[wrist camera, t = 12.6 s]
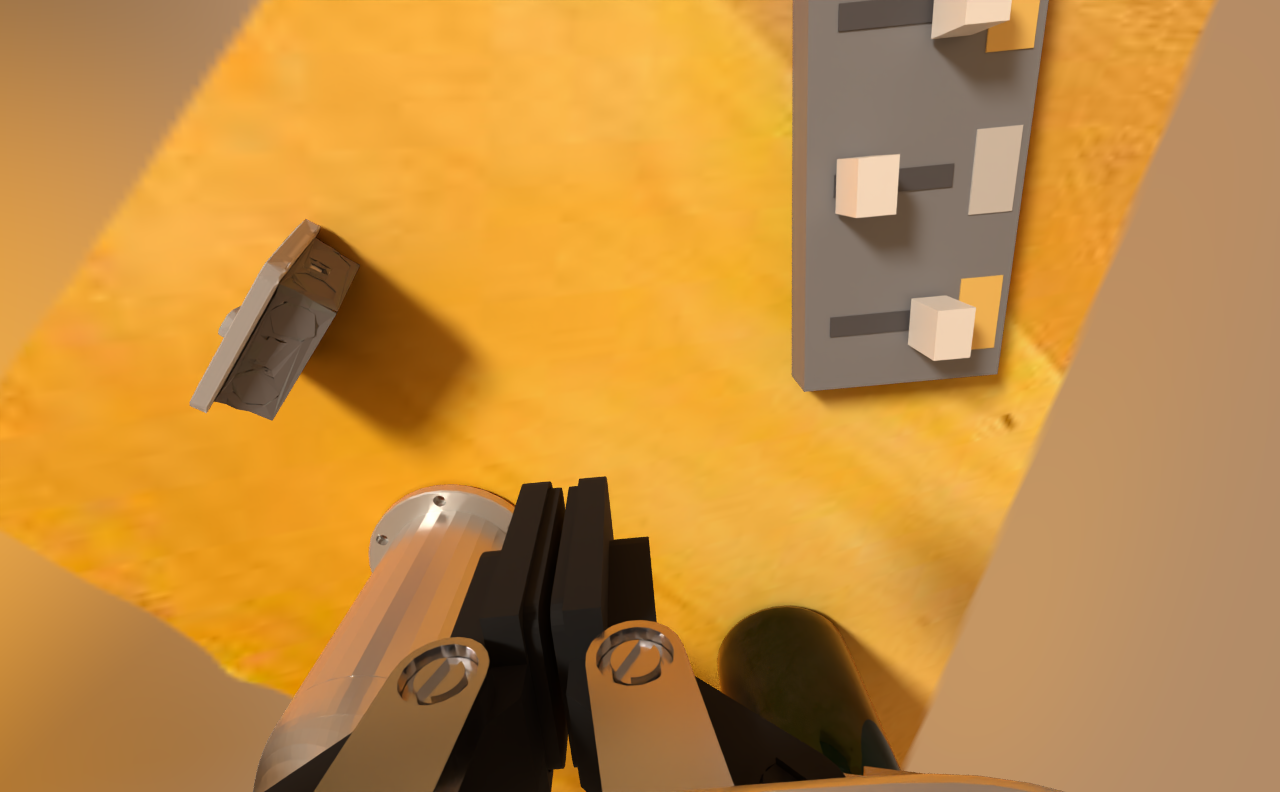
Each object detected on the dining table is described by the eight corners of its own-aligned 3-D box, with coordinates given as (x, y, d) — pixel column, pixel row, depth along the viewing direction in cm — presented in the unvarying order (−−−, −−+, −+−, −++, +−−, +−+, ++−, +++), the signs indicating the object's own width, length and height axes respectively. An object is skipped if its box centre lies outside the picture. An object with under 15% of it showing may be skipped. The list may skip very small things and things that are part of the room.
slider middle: (871, 209, 32) (896, 214, 29) (835, 213, 32) (856, 218, 30) (874, 155, 31) (900, 154, 28) (836, 159, 31) (858, 158, 28)
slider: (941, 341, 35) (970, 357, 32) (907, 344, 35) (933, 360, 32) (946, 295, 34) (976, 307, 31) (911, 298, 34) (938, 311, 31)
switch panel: (971, 359, 39) (998, 374, 36) (791, 375, 40) (804, 392, 37) (1023, -78, 31) (1064, -104, 28) (793, -54, 31) (810, -77, 28)
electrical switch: (311, 214, 35) (226, 242, 27) (390, 265, 37) (334, 307, 29) (244, 333, 38) (149, 393, 30) (321, 377, 40) (251, 444, 31)
